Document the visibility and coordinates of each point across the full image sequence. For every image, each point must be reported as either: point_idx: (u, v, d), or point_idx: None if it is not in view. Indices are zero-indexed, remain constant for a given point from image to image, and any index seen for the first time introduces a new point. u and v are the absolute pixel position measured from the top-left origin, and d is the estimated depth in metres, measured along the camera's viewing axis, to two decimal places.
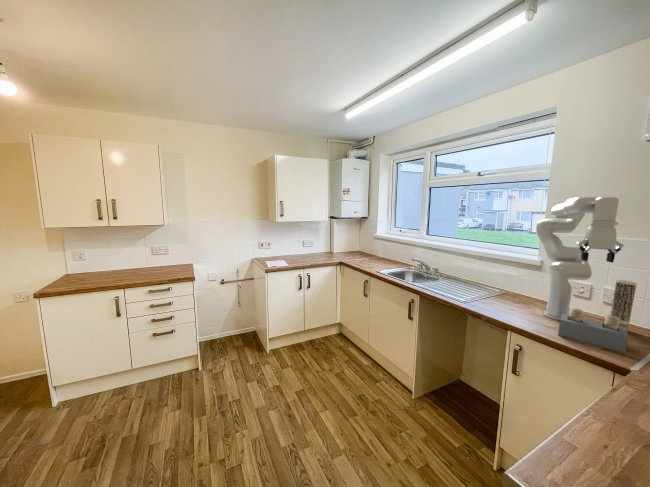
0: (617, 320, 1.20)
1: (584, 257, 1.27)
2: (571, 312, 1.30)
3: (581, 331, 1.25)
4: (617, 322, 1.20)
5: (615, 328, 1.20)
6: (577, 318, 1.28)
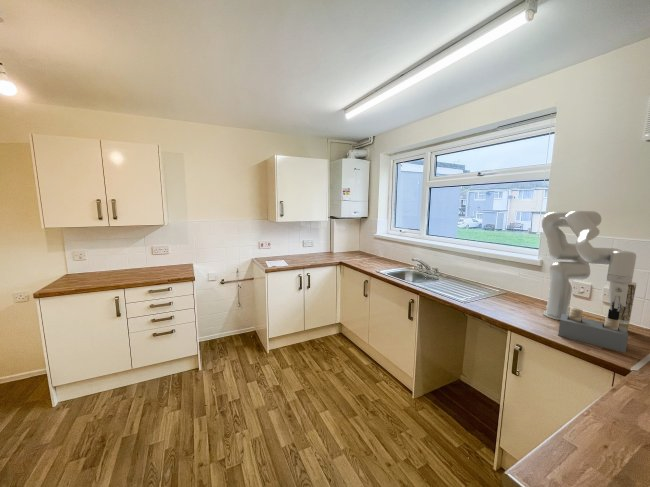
0: (617, 322, 1.20)
1: None
2: (571, 312, 1.30)
3: (581, 331, 1.25)
4: (617, 324, 1.20)
5: None
6: (577, 318, 1.28)
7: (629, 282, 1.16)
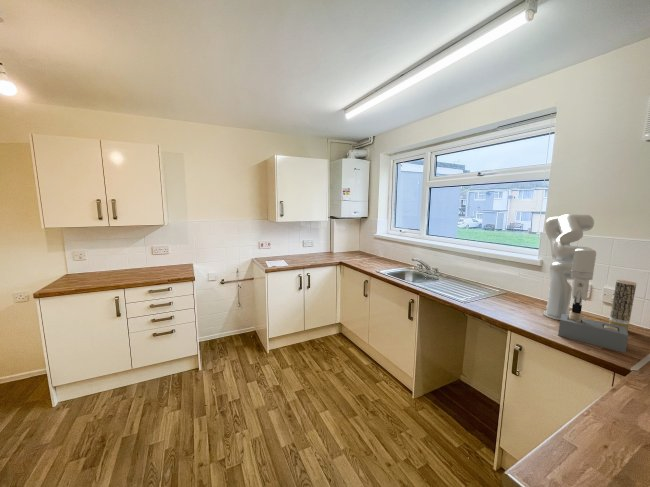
0: None
1: None
2: (571, 315, 1.30)
3: (581, 331, 1.25)
4: None
5: None
6: (577, 321, 1.29)
7: (590, 278, 1.24)
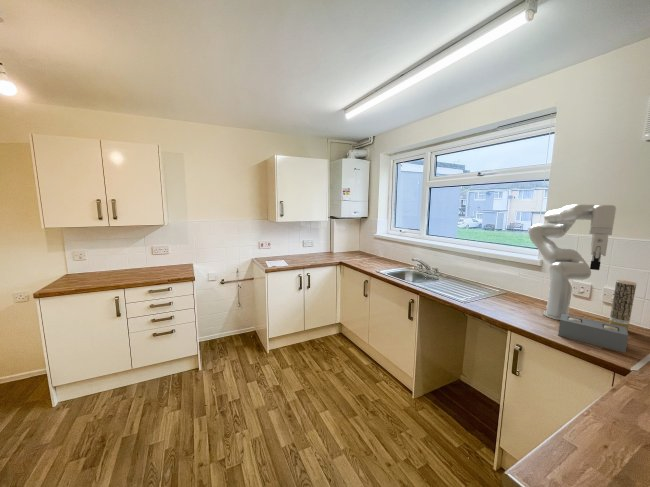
0: None
1: None
2: None
3: (581, 331, 1.25)
4: None
5: None
6: None
7: (609, 233, 1.24)
